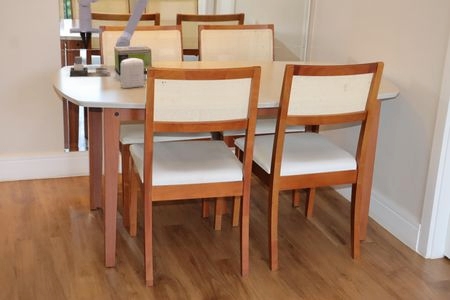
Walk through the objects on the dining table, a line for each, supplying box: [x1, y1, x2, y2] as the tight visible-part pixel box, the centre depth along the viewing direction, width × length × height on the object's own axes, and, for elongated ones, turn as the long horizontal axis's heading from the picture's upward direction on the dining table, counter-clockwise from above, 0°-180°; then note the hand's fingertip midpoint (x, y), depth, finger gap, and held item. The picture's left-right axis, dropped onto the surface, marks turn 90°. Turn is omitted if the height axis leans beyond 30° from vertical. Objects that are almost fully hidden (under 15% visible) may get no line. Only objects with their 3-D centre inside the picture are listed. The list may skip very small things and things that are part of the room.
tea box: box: [113, 45, 153, 82], centre depth 280 cm, size 15×10×15 cm
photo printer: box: [120, 58, 145, 89], centre depth 269 cm, size 10×4×12 cm, turn 123°
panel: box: [69, 66, 111, 78], centre depth 286 cm, size 18×9×4 cm, turn 101°
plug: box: [73, 56, 84, 71], centre depth 284 cm, size 4×4×8 cm
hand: (86, 48), depth 296 cm, fingers closed
